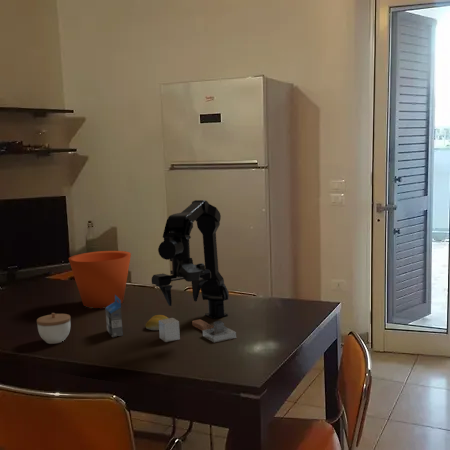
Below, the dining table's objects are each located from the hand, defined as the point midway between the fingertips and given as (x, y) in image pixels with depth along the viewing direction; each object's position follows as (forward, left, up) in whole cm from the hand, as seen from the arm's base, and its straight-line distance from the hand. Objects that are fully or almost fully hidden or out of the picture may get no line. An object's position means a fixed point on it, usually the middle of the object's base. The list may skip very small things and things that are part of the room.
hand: (182, 303), depth 185 cm
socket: (-5, -3, -12) cm, 14 cm away
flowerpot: (-65, -7, -13) cm, 67 cm away
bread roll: (-20, -1, -13) cm, 24 cm away
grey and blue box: (-22, -16, -13) cm, 30 cm away
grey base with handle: (-4, +11, -12) cm, 17 cm away
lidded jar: (-26, -35, -13) cm, 46 cm away
